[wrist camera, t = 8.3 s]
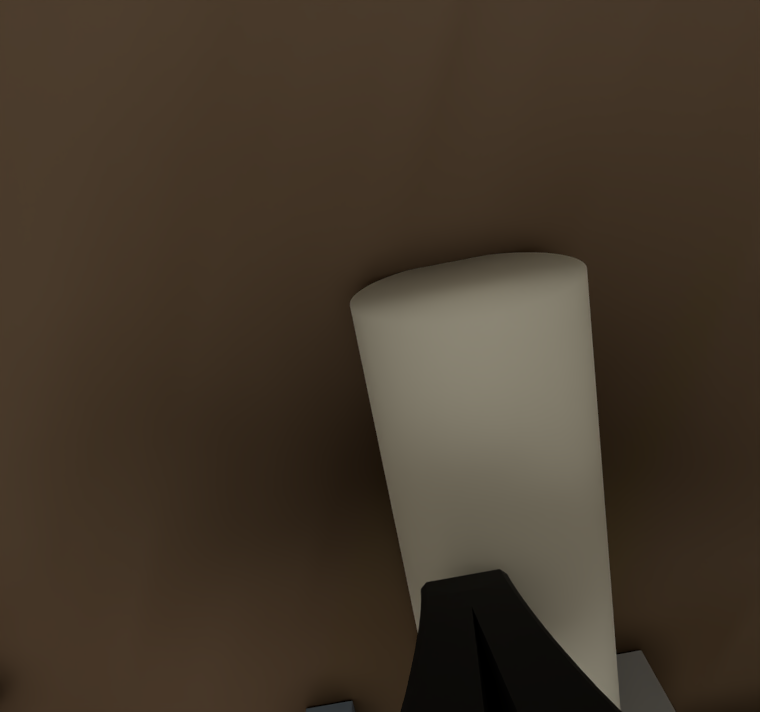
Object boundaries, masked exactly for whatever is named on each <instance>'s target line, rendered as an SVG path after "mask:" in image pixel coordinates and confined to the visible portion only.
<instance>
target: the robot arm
mask: <svg viewBox="0 0 760 712" xmlns="http://www.w3.org/2000/svg"><path fill="white" fill-rule="evenodd" d="M401 712H622V711H621V710H620V709H619V708H618V707H617V706H616V705H615V704H614V703H613V702H612V701H611V700H610V699H609V698H608V697H607V696H606V695H605V694H604V693H603V692H602V691H601V690H600V689H599V688H598V687H597V686H596V685H595V684H594V683H593V682H592V681H591V680H590V678H589V677H588V676H587V675H586V674H585V673H584V672H583V671H582V670H581V669H580V668H579V666H578V665H577V664H576V663H575V662H574V661H573V660H572V658H571V657H570V656H569V655H568V654H567V653H566V652H565V650H564V649H563V648H562V647H561V646H560V645H559V644H558V642H557V641H556V640H555V639H554V638H553V636H552V635H551V634H550V633H549V632H548V630H547V629H546V628H545V627H544V625H543V624H542V623H541V622H540V620H539V619H538V618H537V616H536V615H535V614H534V613H533V611H532V610H531V609H530V607H529V606H528V605H527V603H526V602H525V601H524V599H523V598H522V596H521V595H520V593H519V592H518V590H517V589H516V587H515V586H514V584H513V583H512V581H511V580H510V578H509V576H508V574H507V573H505V572H504V571H502V570H501V569H497V570H491V571H485V572H480V573H474V574H469V575H463V576H458V577H452V578H446V579H441V580H435V581H430V582H426V583H425V584H424V586H423V587H422V588H421V610H420V621H419V629H418V635H417V642H416V648H415V653H414V658H413V662H412V667H411V672H410V676H409V681H408V686H407V690H406V694H405V698H404V702H403V705H402V709H401Z"/></svg>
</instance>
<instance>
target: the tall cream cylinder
mask: <svg viewBox="0 0 760 712" xmlns="http://www.w3.org/2000/svg"><path fill="white" fill-rule="evenodd" d="M350 309H351V313H352V318H353V323H354V328H355V333H356V338H357V342H358V347H359V352H360V357H361V362H362V367H363V371H364V376H365V381H366V386H367V391H368V395H369V400H370V405H371V410H372V415H373V420H374V424H375V429H376V434H377V439H378V444H379V449H380V453H381V458H382V463H383V468H384V473H385V478H386V482H387V487H388V492H389V497H390V502H391V506H392V511H393V516H394V521H395V526H396V531H397V535H398V540H399V545H400V550H401V555H402V560H403V564H404V569H405V574H406V579H407V584H408V588H409V593H410V598H411V603H412V608H413V613H414V617H415V622H416V627H417V632H418V629H419V621H420V610H421V588H422V587H423V586H424V584H425V583H426V582H430V581H435V580H441V579H446V578H452V577H458V576H463V575H469V574H474V573H480V572H485V571H491V570H497V569H501V570H502V571H504V572H505V573H507V574H508V576H509V578H510V580H511V581H512V583H513V584H514V586H515V587H516V589H517V590H518V592H519V593H520V595H521V596H522V598H523V599H524V601H525V602H526V603H527V605H528V606H529V607H530V609H531V610H532V611H533V613H534V614H535V615H536V616H537V618H538V619H539V620H540V622H541V623H542V624H543V625H544V627H545V628H546V629H547V630H548V632H549V633H550V634H551V635H552V636H553V638H554V639H555V640H556V641H557V642H558V644H559V645H560V646H561V647H562V648H563V649H564V650H565V652H566V653H567V654H568V655H569V656H570V657H571V658H572V660H573V661H574V662H575V663H576V664H577V665H578V666H579V668H580V669H581V670H582V671H583V672H584V673H585V674H586V675H587V676H588V677H589V678H590V680H591V681H592V682H593V683H594V684H595V685H596V686H597V687H598V688H599V689H600V690H601V691H602V692H603V693H604V694H605V695H606V696H607V697H608V698H609V699H610V700H611V701H612V702H613V703H614V704H615V705H616V706H617V707H618V708H619V709H620V696H619V683H618V670H617V657H616V643H615V630H614V617H613V604H612V591H611V578H610V565H609V551H608V538H607V525H606V512H605V499H604V486H603V473H602V460H601V446H600V433H599V420H598V407H597V394H596V381H595V368H594V354H593V341H592V328H591V315H590V302H589V289H588V276H587V266H586V265H585V264H584V263H583V262H582V261H580V260H578V259H576V258H574V257H570V256H566V255H560V254H553V253H538V252H519V253H500V254H490V255H484V256H479V257H474V258H469V259H463V260H458V261H453V262H448V263H442V264H437V265H432V266H427V267H421V268H416V269H411V270H407V271H404V272H400V273H397V274H394V275H392V276H389V277H386V278H384V279H381V280H379V281H377V282H374V283H372V284H370V285H368V286H367V287H365V288H363V289H362V290H360V291H359V292H357V293H356V294H355V295H354V296H353V298H352V299H351V301H350ZM620 710H621V709H620Z"/></svg>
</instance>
